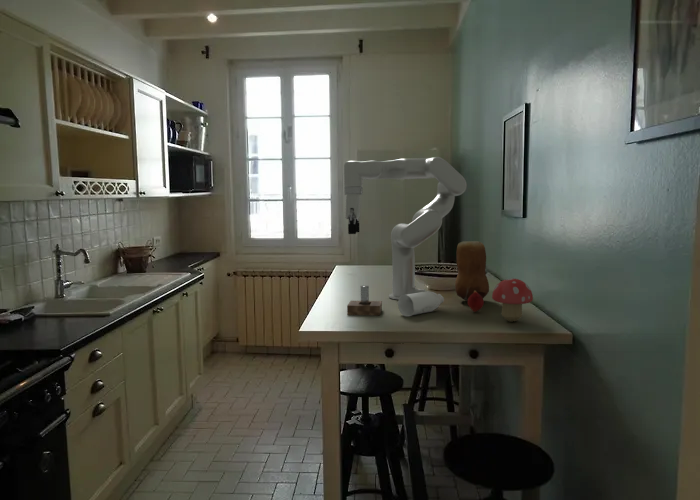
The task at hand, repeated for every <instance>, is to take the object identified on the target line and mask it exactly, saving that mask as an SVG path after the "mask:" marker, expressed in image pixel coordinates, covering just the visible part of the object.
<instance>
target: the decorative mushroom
mask: <svg viewBox="0 0 700 500" xmlns="http://www.w3.org/2000/svg"><path fill="white" fill-rule="evenodd" d="M533 295H534V294H533V291H532V290H531V287H530V286H529V285H528V284H527V283H526V282H525V281H523V280H521V279H519V278H513V277H511V278H505V279H503V280H501V281H499V282H498V283H497V284H496V285H495V287H494V289H493V291H492V296H491V298H492V300H493V301H494V302H497V303H501V316H502V317H503V319H505V320H506V321H508V322H511V323H513V321H514V322H516V321H518V320H520V319H521V318H523V305H524V304H525V305H526V304H529V303H531V302H533V300H534V299H533V298H534V297H533Z"/></svg>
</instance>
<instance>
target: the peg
mask: <svg viewBox="0 0 700 500" xmlns="http://www.w3.org/2000/svg"><path fill="white" fill-rule="evenodd" d="M369 290H370V289H369V285H360V301H361V305H369V301H370V299H369V298H370V294H369V292H370V291H369Z"/></svg>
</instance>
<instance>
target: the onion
mask: <svg viewBox="0 0 700 500" xmlns="http://www.w3.org/2000/svg"><path fill="white" fill-rule="evenodd" d="M484 303H485V301H484V298H482V296H481V295H480V294H478V293H477V292H476V291H474V293H473V294H472V295H470V297H469V298H468V301H467V305H468V307H469V308H470V309H471V311H472V312H474V313H476V312H478V311H480V310H482V308H483V307H484Z"/></svg>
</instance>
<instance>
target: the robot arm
mask: <svg viewBox="0 0 700 500" xmlns="http://www.w3.org/2000/svg"><path fill="white" fill-rule="evenodd" d="M343 176H344V177H343V181H344V183H343V189H344V192H343V193H344V196H346V198H345V219H346V220H348V224H347V233H348V235H356V234H357V233H360V217H361V196H363V195H364V194H363V193H364V191H363V190H364V189H363V186H364V185H363V184H364V183H363V179H364V180H390V179H392V180H412V179H417V180H418V179H434V178H435V179H436V180H437V181H438V183H437V193H436V196H435V198H434V199H433V200H431V202H429V203H427V204H426V205H425V206H423V207H422V208H420V209H419V210H418V211H416V212H415V213H414V214H413V216H412V219H411V222H410V223H398V224H396V225H395V226H394V227H393V228H392V230H391V233H390V242H391V253H392V255H391V256H392V258H391V260H392V261H391V264H392V265H391V266H392V267H391V269H392V271H391V274H392V276H391V277H392V284H391V287H392V288H391V289H392V291H391V293H389V294H388V298H389V299H392V300H397V301H398V300H399V297H400V296H401V295H407V294H413V293H419V292H424V291H426V288H425V289H424V288H417V287H416V285H415V284H416V283H415V281H416V279H415V278H416V277H415V275H416V274H415V273H416V271H415V270H416V269H415V267H416V266H415V263H416V262H415V261H416V256H415V255H416V254H415V248H416V247H418V246H420V245H421V244H423V243H424V242H425V241H427V240H428V239H429V238H431V237H432V236H434V234H436V233H437V232H438V231H439V230H440V228H441V227H442V224H443V218H444V217H445V216H447V215H448V214H449V213H450V212H451V210H452V209H453V207H454V204H455V199H456V197H457V196H461V195H463V194H464V193H465V192H466V191H467V186H468V185H467V181H466V179H465V177H464V176H463V175H462V174H461V173H460V172H459V171H458V170H456V169H455V168H454V167H453V166H452V165H451V163H449V162H448V161H447V160H446V159H444V158H442V157H440V156H434V157H422V158H421V157H419V158H418V157H417V158H413V157H412V158H411V157H410V158H399V159H393V160H384V161H377V160H373V159H372V160H366V161H363V160H362V161H360V160H347V161H345V162H344V164H343Z"/></svg>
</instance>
